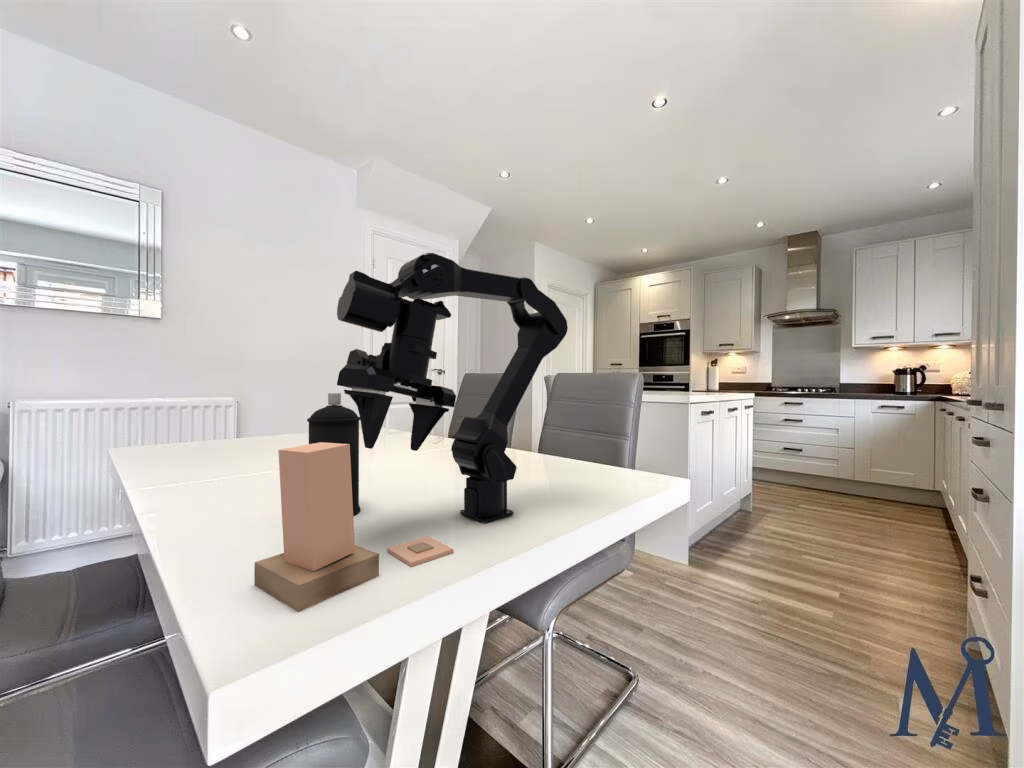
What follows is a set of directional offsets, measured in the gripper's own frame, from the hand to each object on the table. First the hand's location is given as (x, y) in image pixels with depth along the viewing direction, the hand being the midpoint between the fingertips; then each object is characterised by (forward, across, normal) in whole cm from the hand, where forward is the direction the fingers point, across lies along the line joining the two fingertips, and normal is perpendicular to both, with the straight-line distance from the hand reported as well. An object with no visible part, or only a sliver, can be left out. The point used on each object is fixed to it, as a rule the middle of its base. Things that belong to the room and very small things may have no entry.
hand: (392, 449), depth 57 cm
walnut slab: (+15, +11, +2) cm, 18 cm away
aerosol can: (+13, -6, -16) cm, 21 cm away
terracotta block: (+12, +11, +2) cm, 16 cm away
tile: (+12, 0, +8) cm, 14 cm away
